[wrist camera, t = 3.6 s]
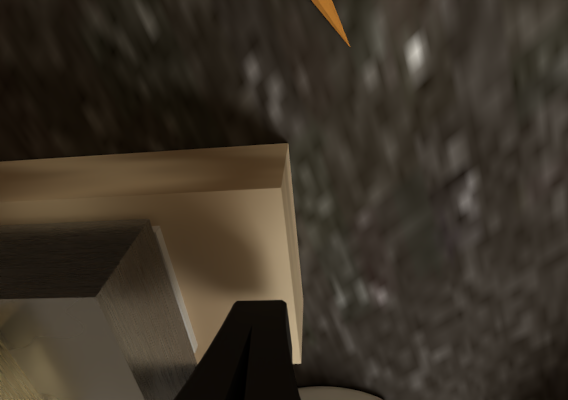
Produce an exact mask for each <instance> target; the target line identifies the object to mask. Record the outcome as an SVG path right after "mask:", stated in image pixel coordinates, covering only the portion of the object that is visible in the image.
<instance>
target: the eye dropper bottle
mask: <svg viewBox="0 0 568 400" xmlns="http://www.w3.org/2000/svg"><path fill="white" fill-rule="evenodd" d="M298 391H299V395H300V398H301V400H383V399H381V398H379V397H377V396H374V395H371V394H368V393H365V392H361V391H358V390H353V389H348V388H341V387H330V386H313V387H302V388H298Z"/></svg>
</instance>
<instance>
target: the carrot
mask: <svg viewBox="0 0 568 400" xmlns="http://www.w3.org/2000/svg"><path fill="white" fill-rule="evenodd" d="M311 1H312V2H313V3H314V4H315V5H316V7H317V8H318V9H319V10H320V11H321V13H322V14H323V15H324V16H325V18H326V19H327V20H328V21H329V22H330V24H331V25H332V26H333V27H334V28H335V30H336V31H337V32H338V33H339V34H340V36H341V37H342V38H343V39H344V41H345V42H346V43H347V44H348V45H349V43H348V40H347V38H346V35H345V32H344V30H343V27H342V25H341V22H340V20H339V17H338V14H337V12H336V9H335V7H334V4H333V1H332V0H311ZM349 47H350V45H349Z"/></svg>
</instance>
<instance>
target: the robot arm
mask: <svg viewBox="0 0 568 400" xmlns="http://www.w3.org/2000/svg"><path fill="white" fill-rule="evenodd" d="M174 400H301V398H300V395H299V391H298V387H297V383H296V379H295V375H294V370H293V362H292V341H291V334H290V326H289V318H288V310H287V303H286V302H284V301H283V300H250V301H236V302H235V303H234V304H233V306H232V308H231V310H230V311H229V313H228V315H227V317H226V319H225V321H224V322H223V324H222V326H221V328H220V329H219V331H218V333H217V334H216V336H215V338H214V339H213V341H212V343H211V344H210V346H209V348H208V349H207V351H206V352H205V354H204V355H203V357H202V359H201V360H200V362H199V363H198V365H197V366H196V368H195V369H194V371H193V372H192V374H191V375H190V377H189V378H188V380H187V381H186V383H185V384H184V385H183V387H182V388H181V390H180V391H179V393H178V394H177V395H176V397H175V398H174Z"/></svg>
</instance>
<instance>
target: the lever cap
mask: <svg viewBox="0 0 568 400" xmlns="http://www.w3.org/2000/svg"><path fill="white" fill-rule="evenodd" d="M197 365H198V364H197V361H196V358H195V355H194V352H193V349H192V346H191V343H190V340H189V337H188V334H187V331H186V328H185V325H184V322H183V319H182V316H181V313H180V310H179V307H178V304H177V301H176V298H175V295H174V292H173V289H172V286H171V283H170V280H169V277H168V274H167V271H166V268H165V265H164V262H163V259H162V256H161V253H160V250H159V247H158V244H157V241H156V238H155V235H154V232H153V229H152V226H151V223H150V220H149V219H134V220H111V221H88V222H66V223H43V224H20V225H0V400H174V398H175V397H176V395H177V394H178V393H179V391H180V390H181V388H182V387H183V385H184V384H185V383H186V381H187V380H188V378H189V377H190V375H191V374H192V372H193V371H194V369H195V368H196V366H197Z"/></svg>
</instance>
